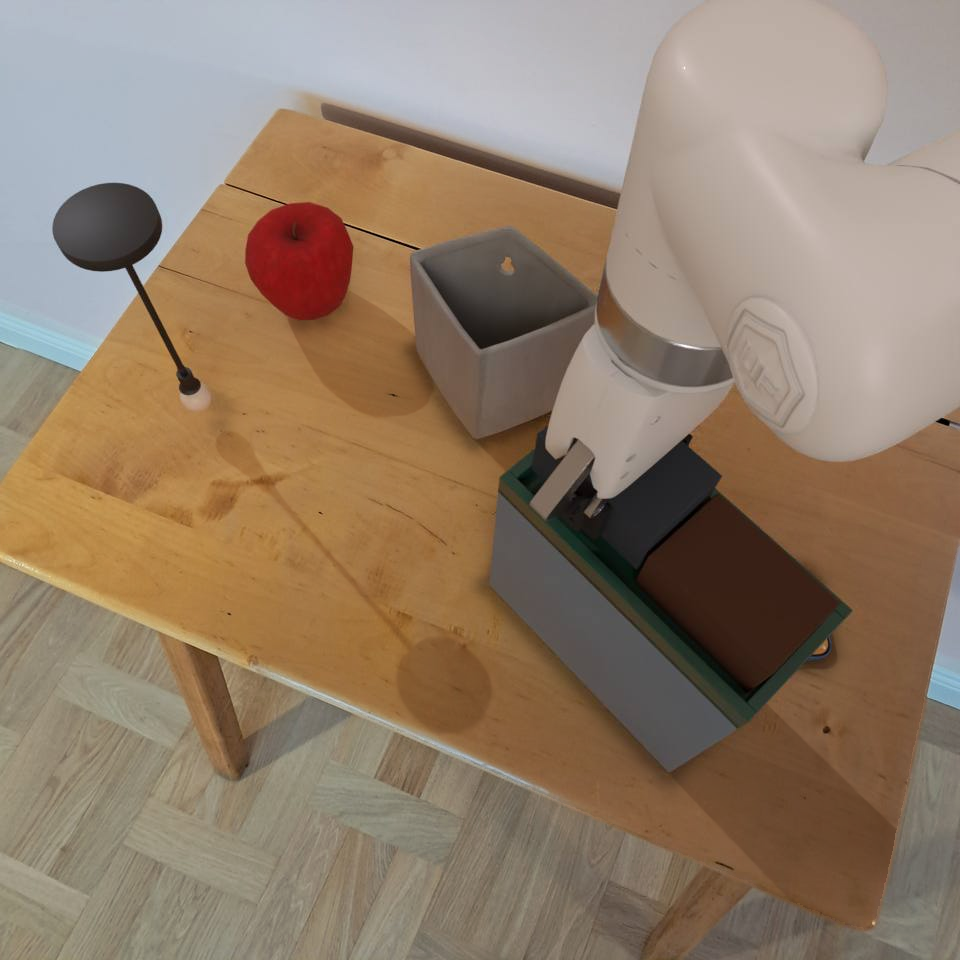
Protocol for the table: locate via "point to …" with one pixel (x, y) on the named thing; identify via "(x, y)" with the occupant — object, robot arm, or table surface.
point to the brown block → (734, 592)
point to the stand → (600, 645)
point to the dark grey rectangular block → (647, 499)
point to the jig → (646, 616)
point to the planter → (497, 326)
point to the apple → (300, 259)
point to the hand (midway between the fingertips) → (618, 485)
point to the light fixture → (121, 253)
